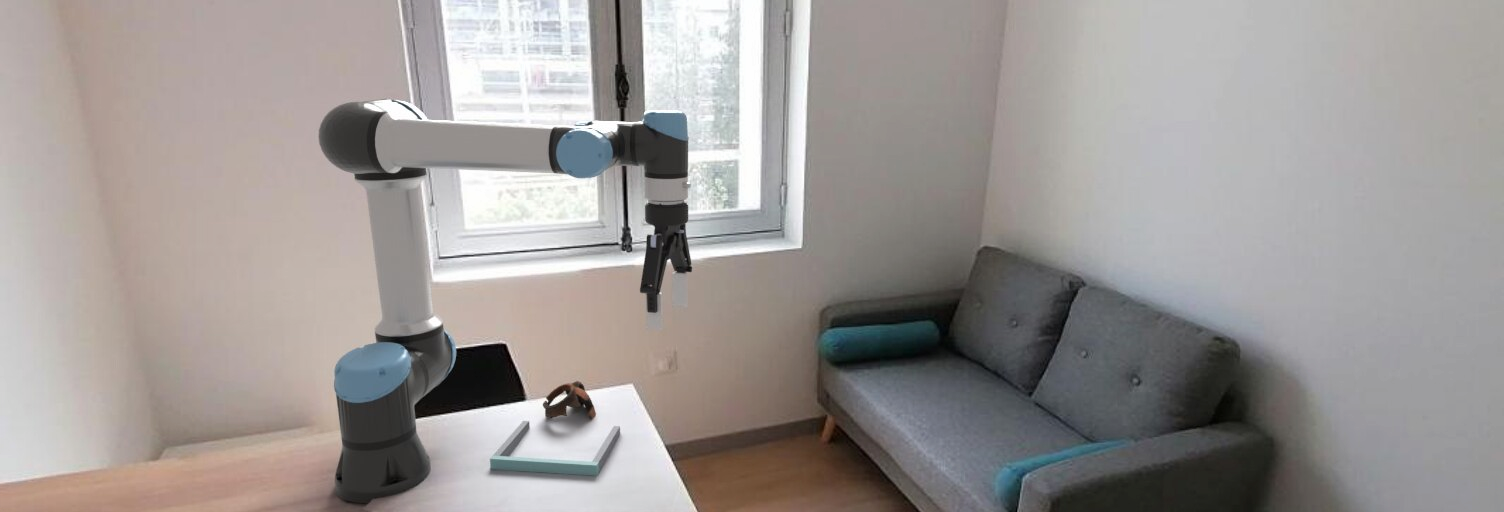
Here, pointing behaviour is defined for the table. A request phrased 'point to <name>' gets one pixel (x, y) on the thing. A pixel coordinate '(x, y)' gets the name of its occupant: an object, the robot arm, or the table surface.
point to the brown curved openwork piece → (568, 400)
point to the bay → (550, 465)
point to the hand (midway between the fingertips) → (667, 317)
